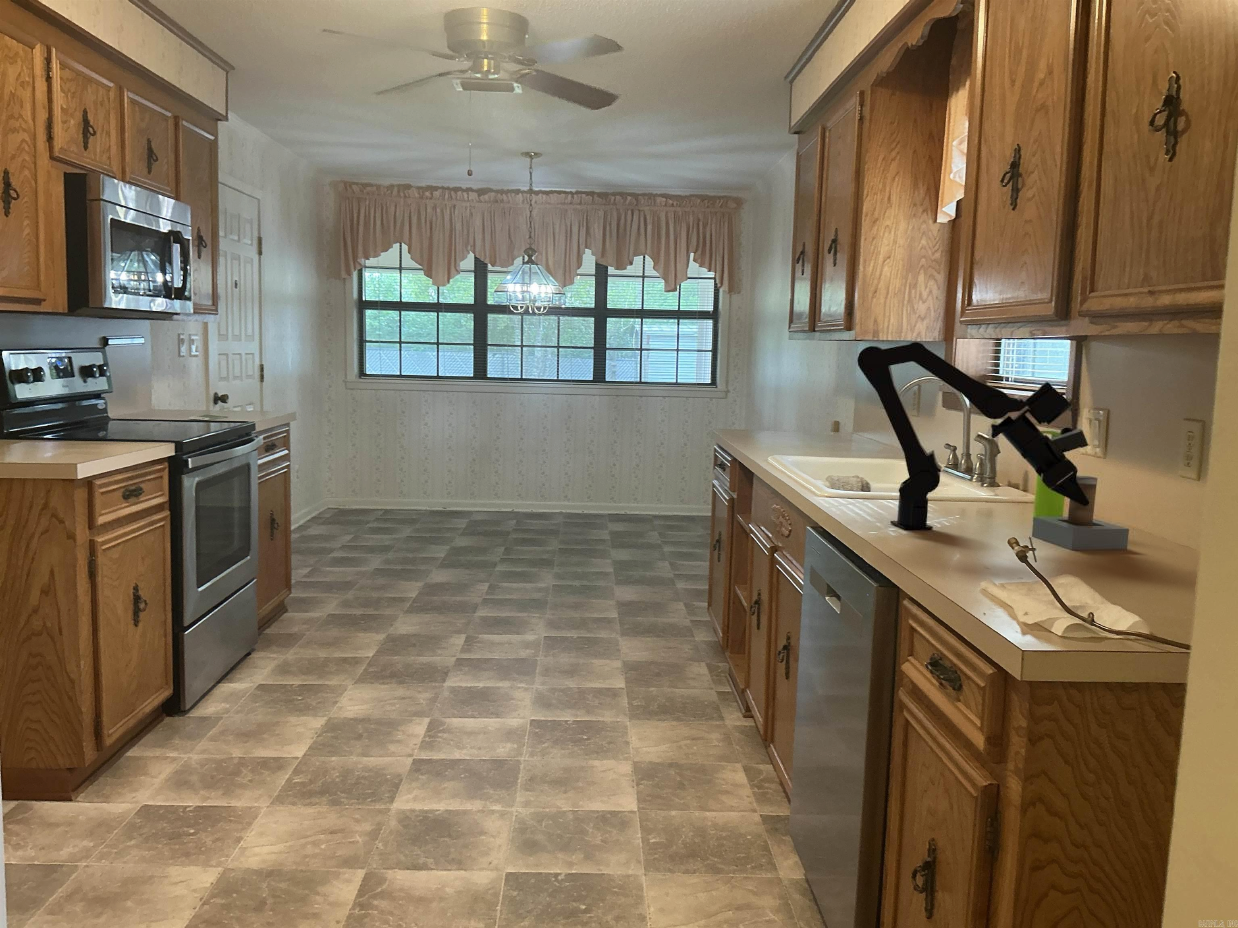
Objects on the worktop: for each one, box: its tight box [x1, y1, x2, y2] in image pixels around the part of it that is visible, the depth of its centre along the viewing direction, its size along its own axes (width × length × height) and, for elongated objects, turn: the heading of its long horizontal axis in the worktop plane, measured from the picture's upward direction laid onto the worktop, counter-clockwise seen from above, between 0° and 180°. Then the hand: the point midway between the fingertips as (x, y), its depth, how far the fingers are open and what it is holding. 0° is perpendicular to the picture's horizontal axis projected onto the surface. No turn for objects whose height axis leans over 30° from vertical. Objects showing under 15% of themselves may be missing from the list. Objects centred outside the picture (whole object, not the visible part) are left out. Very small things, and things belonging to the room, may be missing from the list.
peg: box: [1067, 475, 1098, 526], centre depth 181 cm, size 4×4×13 cm
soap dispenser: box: [1032, 430, 1066, 519], centre depth 201 cm, size 6×7×20 cm
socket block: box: [1031, 516, 1130, 551], centre depth 182 cm, size 12×12×4 cm
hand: (1084, 501), depth 181 cm, fingers open, 9 cm apart
